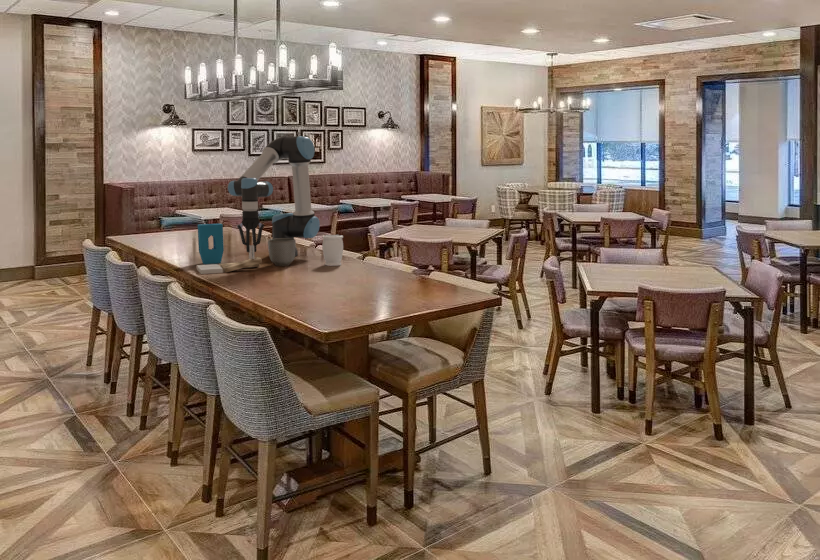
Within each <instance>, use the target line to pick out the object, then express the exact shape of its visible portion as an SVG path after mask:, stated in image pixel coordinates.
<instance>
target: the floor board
mask: <svg viewBox="0 0 820 560" xmlns="http://www.w3.org/2000/svg"><path fill="white" fill-rule="evenodd" d="M196 271H198V273H199V274H200V275H206V274H207V275H209V274H223V273H224V274H225V271H224V270H223V269H222V268H221V267H220V264H197V265H196Z"/></svg>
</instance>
